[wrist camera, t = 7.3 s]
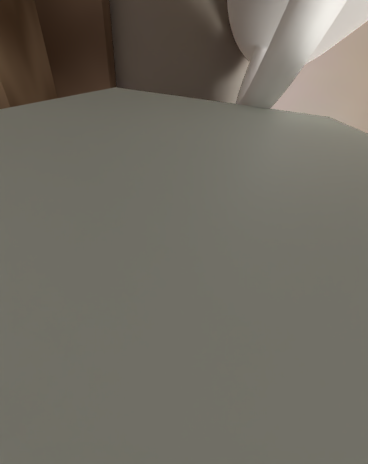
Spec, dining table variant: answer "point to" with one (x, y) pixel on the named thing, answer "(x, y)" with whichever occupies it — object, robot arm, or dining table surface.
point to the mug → (286, 40)
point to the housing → (181, 283)
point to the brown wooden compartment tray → (54, 49)
